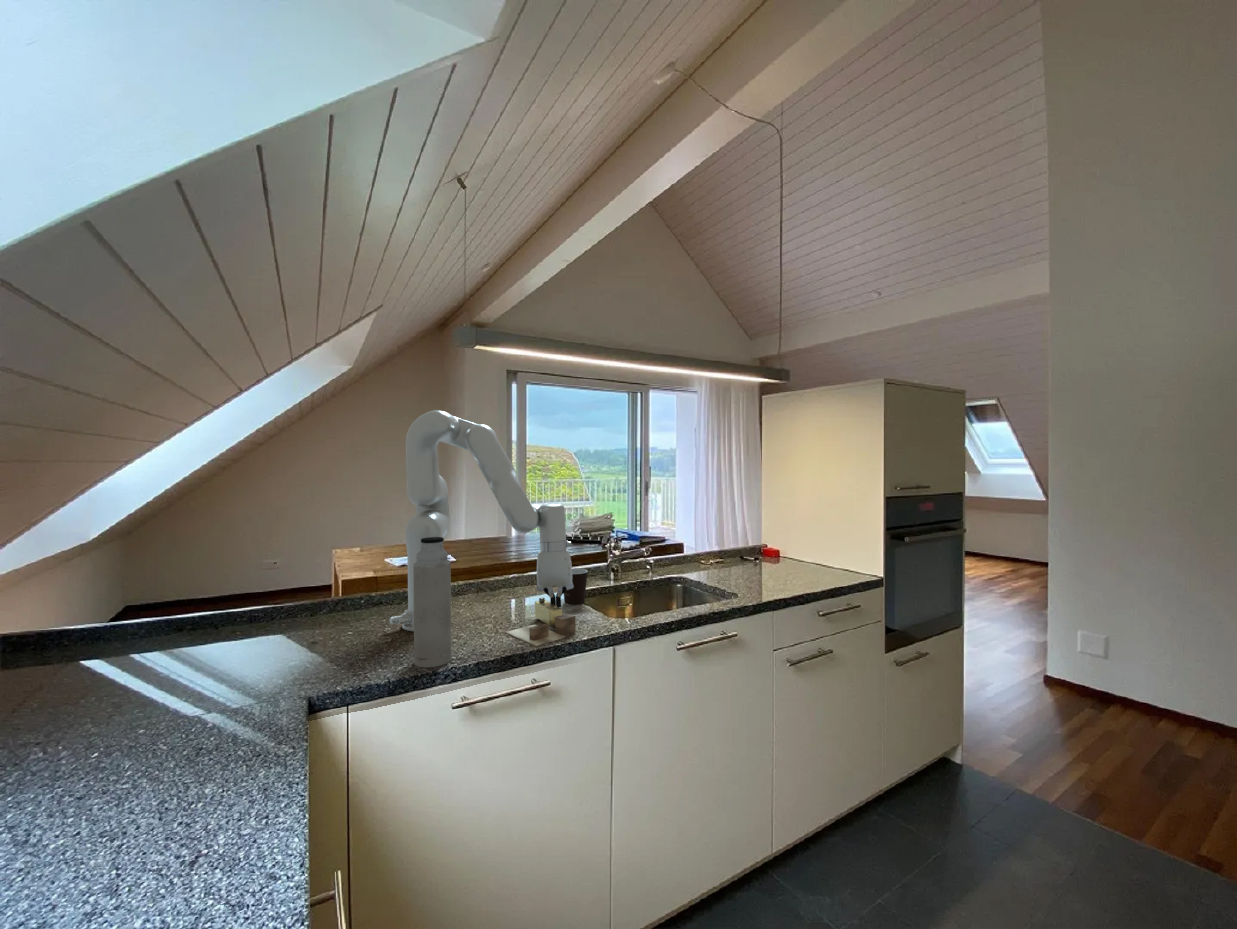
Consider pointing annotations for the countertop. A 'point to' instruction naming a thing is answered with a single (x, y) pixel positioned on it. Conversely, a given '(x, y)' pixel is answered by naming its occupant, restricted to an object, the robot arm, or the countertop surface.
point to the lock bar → (547, 611)
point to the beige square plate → (524, 635)
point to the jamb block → (565, 624)
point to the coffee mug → (577, 588)
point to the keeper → (539, 632)
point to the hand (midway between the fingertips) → (556, 609)
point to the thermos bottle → (432, 604)
